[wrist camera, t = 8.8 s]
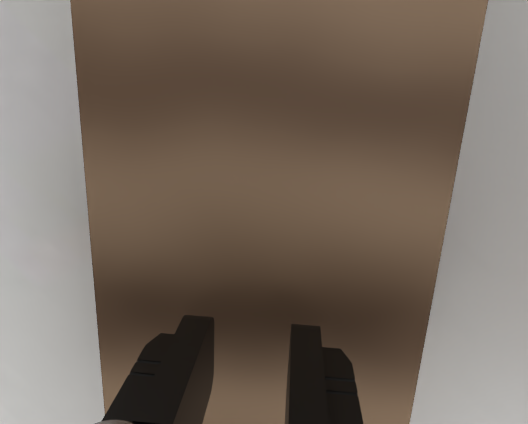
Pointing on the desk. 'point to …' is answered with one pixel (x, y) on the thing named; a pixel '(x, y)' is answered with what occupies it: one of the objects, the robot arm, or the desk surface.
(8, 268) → the desk surface
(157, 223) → the walnut riser
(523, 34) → the desk surface
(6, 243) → the desk surface
